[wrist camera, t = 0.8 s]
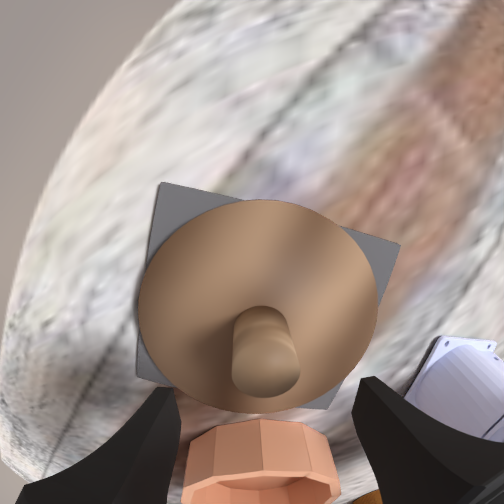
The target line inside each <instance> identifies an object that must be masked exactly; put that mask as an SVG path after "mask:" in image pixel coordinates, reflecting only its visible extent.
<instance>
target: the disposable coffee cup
mask: <svg viewBox="0 0 504 504" xmlns="http://www.w3.org/2000/svg"><path fill="white" fill-rule="evenodd" d="M352 504H383V503H382V499H381V495H380V491H379V490H376V491H373V492H370V493H368V494H366V495H364V496H362V497H360V498H358V499H357V500H355V501H354V502H353V503H352Z"/></svg>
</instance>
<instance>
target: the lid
mask: <svg viewBox="0 0 504 504" xmlns="http://www.w3.org/2000/svg"><path fill="white" fill-rule="evenodd" d="M377 313H378V293H377V287H376V282H375V278H374V275H373V272H372V269H371V266H370V264H369V262H368V260H367V258H366V257H365V255H364V253H363V251H362V250H361V249H360V247H359V246H358V245H357V243H356V242H355V241H354V240H353V239H352V238H351V237H350V236H349V235H348V234H347V233H346V232H345V231H344V230H343V229H342V228H341V227H339V226H338V225H337V224H335V223H334V222H332V221H331V220H330V219H328V218H326V217H324V216H322V215H320V214H318V213H316V212H315V211H313V210H310V209H308V208H305V207H302V206H299V205H296V204H293V203H288V202H283V201H278V200H262V199H258V200H245V201H239V202H234V203H230V204H225V205H222V206H219V207H216V208H214V209H211V210H208V211H206V212H204V213H203V214H201V215H199V216H197V217H195V218H193V219H192V220H190V221H189V222H188V223H186V224H185V225H184V226H182V227H181V228H179V229H178V230H177V231H176V232H175V233H174V234H173V235H172V236H171V237H170V238H169V239H168V240H167V241H166V242H165V243H164V244H163V245H162V246H161V248H160V249H159V250H158V252H157V253H156V254H155V256H154V257H153V259H152V261H151V263H150V265H149V267H148V268H147V270H146V273H145V276H144V278H143V281H142V284H141V289H140V294H139V300H138V318H139V325H140V331H141V334H142V338H143V341H144V344H145V346H146V348H147V350H148V353H149V355H150V356H151V358H152V360H153V361H154V363H155V364H156V366H157V367H158V368H159V370H160V371H161V372H162V373H163V375H164V376H165V377H166V378H167V379H168V380H169V381H170V382H171V383H172V384H174V385H175V386H176V387H177V388H179V389H180V390H181V391H183V392H184V393H186V394H187V395H189V396H191V397H192V398H194V399H196V400H198V401H200V402H202V403H204V404H207V405H209V406H212V407H215V408H218V409H222V410H226V411H231V412H238V413H247V414H262V413H273V412H279V411H284V410H288V409H291V408H295V407H298V406H301V405H303V404H306V403H308V402H311V401H313V400H315V399H317V398H318V397H320V396H322V395H324V394H325V393H327V392H328V391H330V390H331V389H333V388H334V387H335V386H337V385H338V384H339V383H340V382H341V381H342V380H343V379H345V378H346V377H347V375H348V374H349V373H350V372H351V371H352V370H353V369H354V368H355V366H356V365H357V364H358V362H359V361H360V360H361V358H362V356H363V355H364V353H365V351H366V349H367V348H368V346H369V343H370V341H371V338H372V336H373V333H374V329H375V325H376V321H377Z"/></svg>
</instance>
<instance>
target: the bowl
mask: <svg viewBox="0 0 504 504" xmlns="http://www.w3.org/2000/svg"><path fill="white" fill-rule="evenodd" d="M340 495H341V489H340V481H339V477H338V474H337V471H336V467H335V464H334V461H333V457H332V454H331V450H330V447H329V444H328V440H327V437H326V436H325V435H323V434H321V433H320V432H318V431H316V430H314V429H312V428H310V427H308V426H307V425H305V424H303V423H301V422H287V421H276V420H266V419H255V420H250V421H245V422H239V423H233V424H227V425H220V426H216V427H214V428H213V429H211V430H209V431H208V432H206V433H204V434H203V435H201V436H199V437H198V438H196V439H194V440H192V441H191V442H190V447H189V452H188V457H187V462H186V469H185V475H184V482H183V489H182V496H181V503H182V504H331V503H332V502H333V501H335V500H336V499H337V498H338V497H339V496H340Z"/></svg>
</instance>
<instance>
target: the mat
mask: <svg viewBox="0 0 504 504" xmlns="http://www.w3.org/2000/svg"><path fill="white" fill-rule="evenodd" d="M239 201H245V200H241V199H237V198H233V197H229V196H224V195H220V194H216V193H211V192H207V191H203V190H198V189H194V188H189V187H185V186H180V185H175V184H171V183H166V182H161V184H160V189H159V194H158V199H157V204H156V209H155V214H154V220H153V226H152V231H151V237H150V244H149V250H148V257H147V264H146V270H147V268H148V267H149V265H150V263H151V261H152V259H153V257H154V256H155V254H156V253H157V252H158V250H159V249H160V248H161V246H162V245H163V244H164V243H165V242H166V241H167V240H168V239H169V238H170V237H171V236H172V235H173V234H174V233H175V232H176V231H177V230H178V229H179V228H181V227H182V226H184V225H185V224H186V223H188V222H189V221H190V220H192V219H193V218H195V217H197V216H199V215H201V214H203V213H204V212H206V211H208V210H211V209H214V208H216V207H219V206H222V205H225V204H230V203H234V202H239ZM339 227H341V228H342V229H343V230H344V231H345V232H346V233H347V234H348V235H349V236H350V237H351V238H352V239H353V240H354V241H355V242H356V243H357V245H358V246H359V247H360V249H361V250H362V251H363V253H364V255H365V257H366V258H367V260H368V262H369V264H370V266H371V269H372V272H373V275H374V278H375V282H376V287H377V293H378V307H379V304H380V302H381V299H382V297H383V294H384V292H385V289H386V286H387V284H388V281H389V278H390V276H391V273H392V270H393V267H394V264H395V262H396V259H397V256H398V253H399V250H400V247H401V245H399V244H397V243H394V242H391V241H388V240H384V239H381V238H378V237H375V236H372V235H368V234H365V233H362V232H358V231H355V230H352V229H348V228H345V227H342V226H339ZM145 273H146V271H145ZM137 377H139V378H143V379H146V380H150V381H153V382H157V383H160V384H164V385H168V386H172V387H176V386H175V385H174V384H172V383H171V382H170V381H169V380H168V379H167V378H166V377H165V376H164V375H163V373H162V372H161V371H160V370H159V368H158V367H157V366H156V364H155V363H154V361H153V360H152V358H151V356H150V355H149V353H148V350H147V348H146V346H145V344H144V341H143V338H142V334H141V331H140V329H139V343H138V362H137ZM343 381H344V379H343V380H342V381H341V382H340V383H339V384H338V385H337V386H335V387H334V388H333V389H331V390H330V391H328V392H327V393H325V394H324V395H322V396H320V397H318V398H317V399H315V400H313V401H311V402H308V403H306V404H303V405H301V406H298V407H295V408H307V409H324V410H327V409H328V408H329V406H330V404H331V402H332V401H333V399H334V397H335V395H336V394H337V392H338V390H339V388H340V386H341V385H342V383H343ZM176 388H177V387H176Z"/></svg>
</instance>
